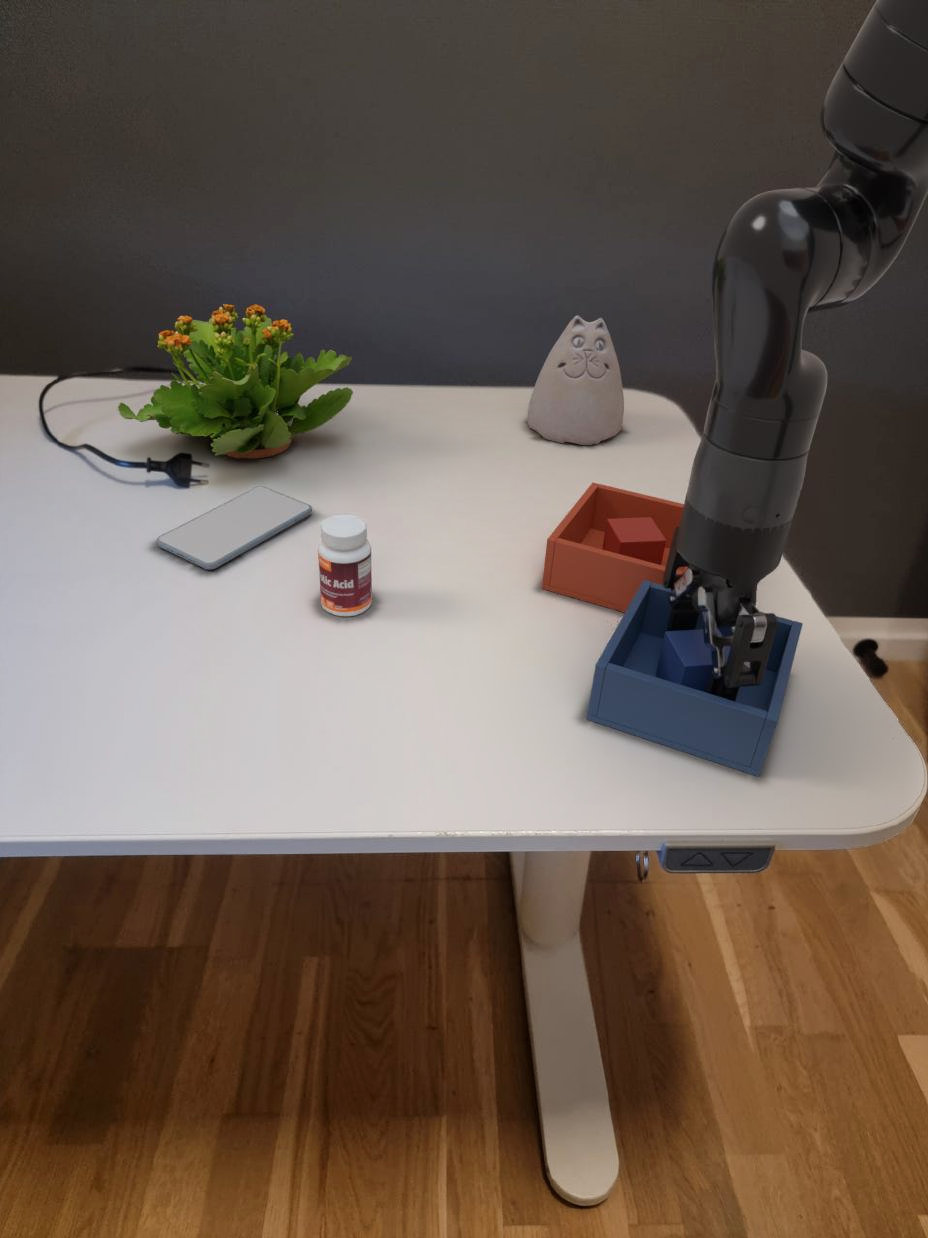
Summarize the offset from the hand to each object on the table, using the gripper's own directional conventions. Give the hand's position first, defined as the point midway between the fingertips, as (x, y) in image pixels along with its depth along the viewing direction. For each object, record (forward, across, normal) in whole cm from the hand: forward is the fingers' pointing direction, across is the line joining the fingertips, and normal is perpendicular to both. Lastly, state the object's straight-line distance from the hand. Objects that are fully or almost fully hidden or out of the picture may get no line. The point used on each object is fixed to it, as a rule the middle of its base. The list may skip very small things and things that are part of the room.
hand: (695, 675), depth 70 cm
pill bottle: (+2, +16, +28) cm, 32 cm away
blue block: (+2, 0, 0) cm, 2 cm away
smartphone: (+2, +31, +38) cm, 49 cm away
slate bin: (+2, 0, 0) cm, 2 cm away
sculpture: (+2, +55, -4) cm, 55 cm away
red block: (+2, +19, -1) cm, 19 cm away
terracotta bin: (+2, +19, -1) cm, 19 cm away
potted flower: (+2, +53, +37) cm, 64 cm away
